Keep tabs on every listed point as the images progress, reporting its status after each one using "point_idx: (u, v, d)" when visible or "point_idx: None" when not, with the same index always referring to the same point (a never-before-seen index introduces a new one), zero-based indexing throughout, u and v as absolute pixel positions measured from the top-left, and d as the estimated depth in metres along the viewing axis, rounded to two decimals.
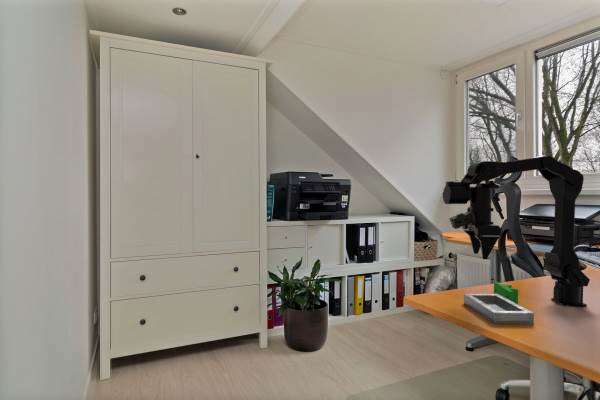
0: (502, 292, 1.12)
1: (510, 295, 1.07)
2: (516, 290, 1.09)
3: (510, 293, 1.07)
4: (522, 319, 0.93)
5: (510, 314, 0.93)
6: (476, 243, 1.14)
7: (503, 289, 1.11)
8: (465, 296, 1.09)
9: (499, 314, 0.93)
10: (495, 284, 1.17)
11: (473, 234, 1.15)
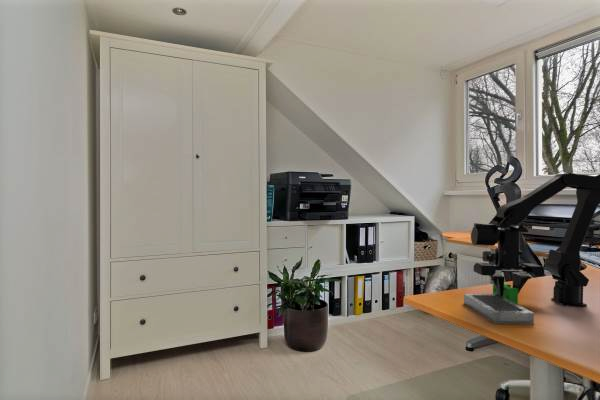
0: None
1: (510, 294, 1.07)
2: (516, 289, 1.09)
3: (510, 292, 1.07)
4: (522, 319, 0.93)
5: (510, 314, 0.93)
6: (515, 287, 1.12)
7: (503, 289, 1.11)
8: (465, 296, 1.09)
9: (499, 314, 0.93)
10: (494, 284, 1.17)
11: (514, 277, 1.12)
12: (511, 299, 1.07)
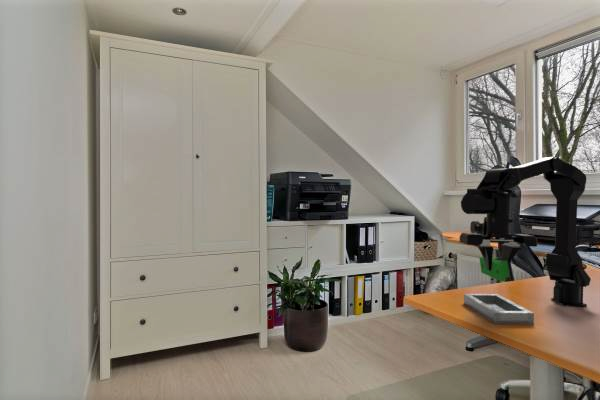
0: None
1: (501, 268, 0.96)
2: (505, 262, 0.99)
3: (500, 266, 0.96)
4: (522, 319, 0.93)
5: (510, 314, 0.93)
6: (505, 259, 1.01)
7: None
8: (465, 296, 1.09)
9: (499, 314, 0.93)
10: (481, 259, 1.06)
11: (504, 249, 1.02)
12: (502, 273, 0.96)
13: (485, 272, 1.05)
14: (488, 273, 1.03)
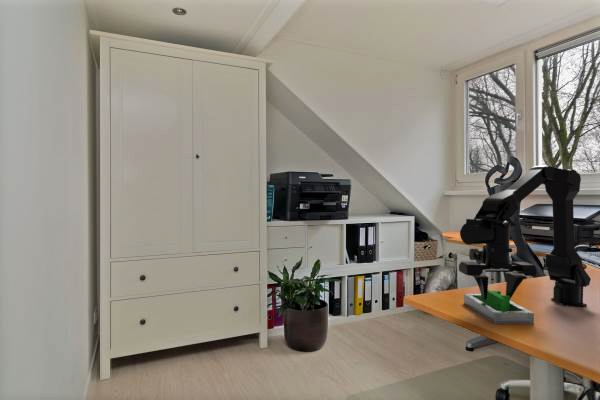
0: (492, 299, 1.01)
1: (503, 303, 0.96)
2: (508, 297, 0.99)
3: (503, 301, 0.96)
4: (522, 319, 0.93)
5: (510, 314, 0.93)
6: (509, 288, 1.01)
7: (493, 296, 1.00)
8: (465, 296, 1.09)
9: (499, 314, 0.93)
10: None
11: (508, 277, 1.01)
12: (503, 308, 0.96)
13: None
14: (488, 305, 1.03)
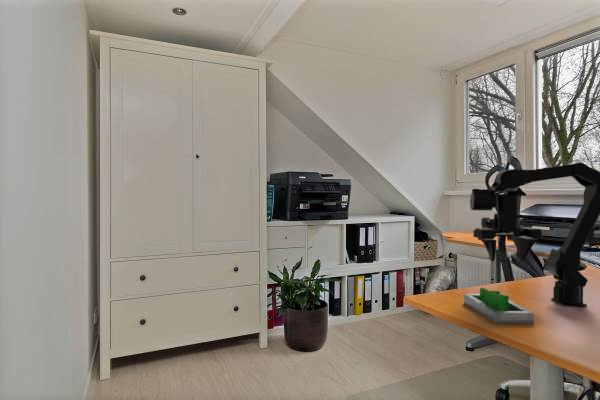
0: (491, 299, 1.01)
1: (501, 303, 0.96)
2: (506, 297, 0.99)
3: (501, 301, 0.96)
4: (522, 319, 0.93)
5: (510, 314, 0.93)
6: (523, 250, 1.13)
7: (492, 296, 1.00)
8: (465, 296, 1.09)
9: (499, 314, 0.93)
10: (482, 290, 1.06)
11: (521, 241, 1.14)
12: (502, 308, 0.96)
13: None
14: None
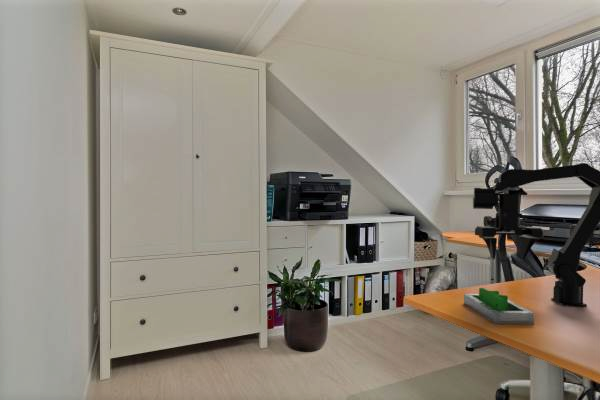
0: (490, 299, 1.01)
1: (500, 303, 0.96)
2: (505, 297, 0.99)
3: (500, 301, 0.96)
4: (522, 319, 0.93)
5: (510, 314, 0.93)
6: (523, 249, 1.15)
7: (491, 296, 1.00)
8: (465, 296, 1.09)
9: (499, 314, 0.93)
10: (481, 290, 1.06)
11: (523, 240, 1.16)
12: (501, 308, 0.96)
13: None
14: None
